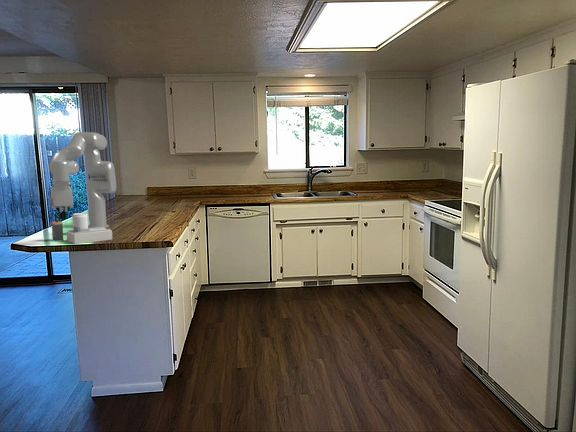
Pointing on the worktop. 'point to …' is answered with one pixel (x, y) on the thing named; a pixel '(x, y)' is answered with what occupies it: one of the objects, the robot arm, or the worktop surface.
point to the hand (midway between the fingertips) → (63, 219)
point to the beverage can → (80, 220)
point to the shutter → (77, 229)
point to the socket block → (89, 235)
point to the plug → (57, 230)
